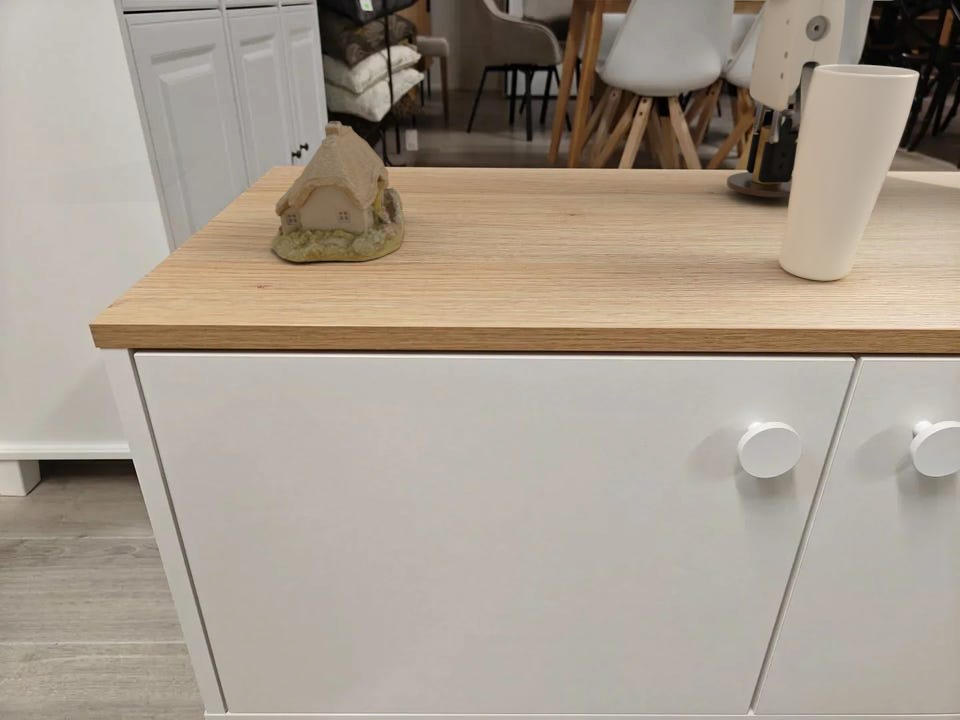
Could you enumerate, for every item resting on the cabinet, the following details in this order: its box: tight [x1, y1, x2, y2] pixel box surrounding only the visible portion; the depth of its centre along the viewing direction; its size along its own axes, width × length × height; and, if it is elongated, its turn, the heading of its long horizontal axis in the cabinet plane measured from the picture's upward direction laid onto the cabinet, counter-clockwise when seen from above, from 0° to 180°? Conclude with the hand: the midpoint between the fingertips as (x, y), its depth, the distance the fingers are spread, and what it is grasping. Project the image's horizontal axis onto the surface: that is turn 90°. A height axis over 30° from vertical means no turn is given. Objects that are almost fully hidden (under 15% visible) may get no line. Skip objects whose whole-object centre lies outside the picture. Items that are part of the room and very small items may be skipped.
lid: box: [726, 125, 792, 198], centre depth 71 cm, size 8×8×6 cm
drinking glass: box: [778, 63, 920, 282], centre depth 51 cm, size 7×7×15 cm
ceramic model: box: [270, 120, 405, 263], centre depth 58 cm, size 14×11×10 cm
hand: (767, 175), depth 72 cm, fingers closed on lid, 3 cm apart
